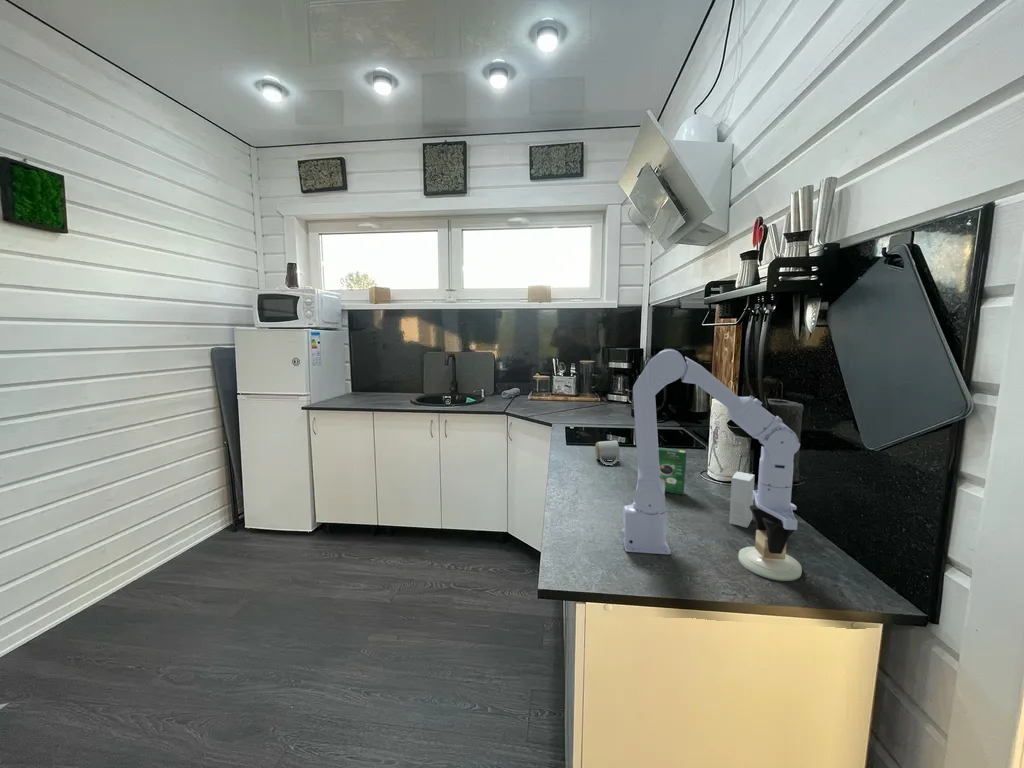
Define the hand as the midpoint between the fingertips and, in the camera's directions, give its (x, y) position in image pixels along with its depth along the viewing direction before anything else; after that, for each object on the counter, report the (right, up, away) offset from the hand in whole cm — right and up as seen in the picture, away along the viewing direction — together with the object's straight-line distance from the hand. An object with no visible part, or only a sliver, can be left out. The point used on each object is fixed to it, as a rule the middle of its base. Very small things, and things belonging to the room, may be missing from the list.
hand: (770, 546), depth 84 cm
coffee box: (-5, +1, +39) cm, 40 cm away
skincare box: (+5, -2, +20) cm, 21 cm away
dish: (0, -4, +1) cm, 4 cm away
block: (0, -1, 0) cm, 2 cm away
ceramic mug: (-17, +4, +69) cm, 71 cm away
